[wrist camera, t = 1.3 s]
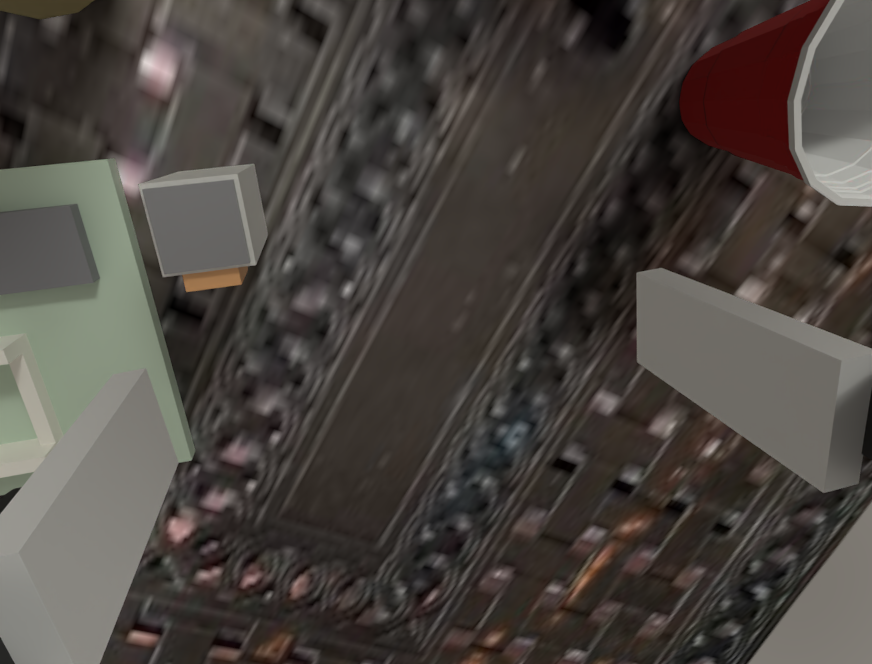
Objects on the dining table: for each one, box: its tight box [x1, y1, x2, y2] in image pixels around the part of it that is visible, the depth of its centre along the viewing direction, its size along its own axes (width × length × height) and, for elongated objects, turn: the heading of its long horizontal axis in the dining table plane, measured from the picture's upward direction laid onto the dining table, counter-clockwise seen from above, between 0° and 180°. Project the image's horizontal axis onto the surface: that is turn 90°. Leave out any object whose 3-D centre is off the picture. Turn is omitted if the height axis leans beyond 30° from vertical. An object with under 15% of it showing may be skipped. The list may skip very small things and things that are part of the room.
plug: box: [138, 164, 268, 292], centre depth 28 cm, size 5×4×8 cm
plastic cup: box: [679, 0, 872, 206], centre depth 30 cm, size 11×11×12 cm
